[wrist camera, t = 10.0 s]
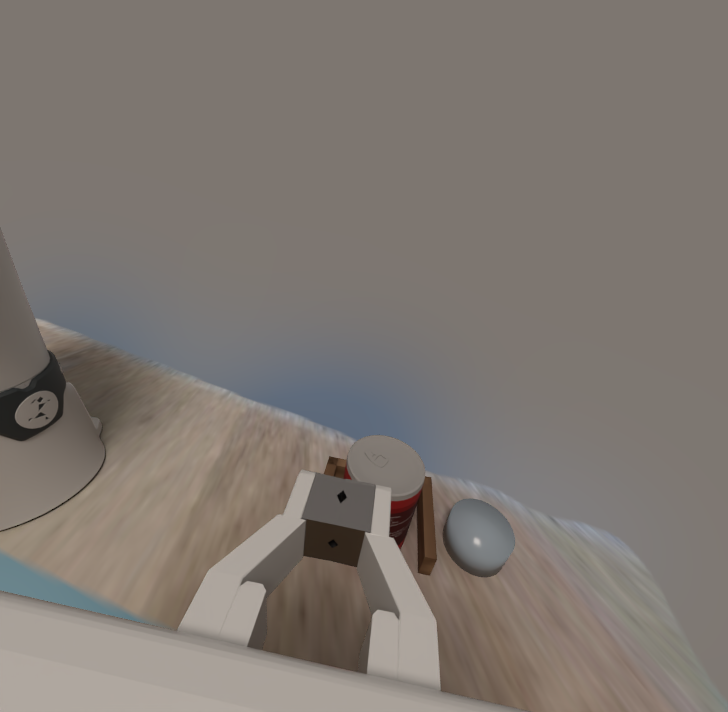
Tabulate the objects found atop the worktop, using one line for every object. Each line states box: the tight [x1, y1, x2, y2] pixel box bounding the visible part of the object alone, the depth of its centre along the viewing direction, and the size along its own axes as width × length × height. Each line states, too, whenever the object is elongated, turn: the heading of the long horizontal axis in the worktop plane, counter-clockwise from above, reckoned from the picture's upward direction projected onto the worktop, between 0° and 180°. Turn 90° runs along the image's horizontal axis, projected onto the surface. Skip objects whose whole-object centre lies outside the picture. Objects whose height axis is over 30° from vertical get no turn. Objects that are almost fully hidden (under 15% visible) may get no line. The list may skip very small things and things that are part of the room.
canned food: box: [343, 435, 425, 549], centre depth 34 cm, size 8×8×11 cm
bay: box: [324, 456, 437, 575], centre depth 37 cm, size 13×10×3 cm
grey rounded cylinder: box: [443, 499, 515, 577], centre depth 36 cm, size 7×7×4 cm
